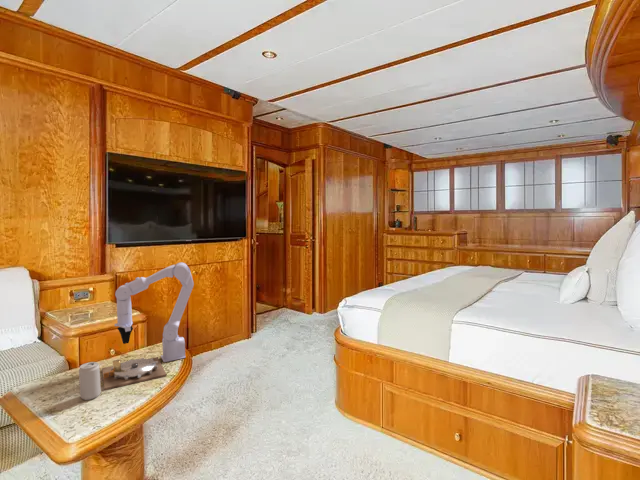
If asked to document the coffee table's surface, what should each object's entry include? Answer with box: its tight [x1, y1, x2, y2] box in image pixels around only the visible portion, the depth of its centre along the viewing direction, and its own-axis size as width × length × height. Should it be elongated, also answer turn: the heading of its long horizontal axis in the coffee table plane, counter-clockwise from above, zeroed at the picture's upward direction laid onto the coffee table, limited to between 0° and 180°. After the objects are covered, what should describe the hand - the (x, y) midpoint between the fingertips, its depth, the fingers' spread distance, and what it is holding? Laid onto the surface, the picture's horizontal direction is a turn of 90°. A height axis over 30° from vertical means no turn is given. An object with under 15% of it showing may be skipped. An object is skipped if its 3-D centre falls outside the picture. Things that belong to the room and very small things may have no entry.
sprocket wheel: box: [110, 357, 158, 380], centre depth 154 cm, size 18×18×6 cm
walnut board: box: [101, 356, 167, 391], centre depth 154 cm, size 22×21×2 cm
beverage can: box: [78, 361, 102, 401], centre depth 134 cm, size 6×6×12 cm
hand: (125, 343), depth 162 cm, fingers closed
